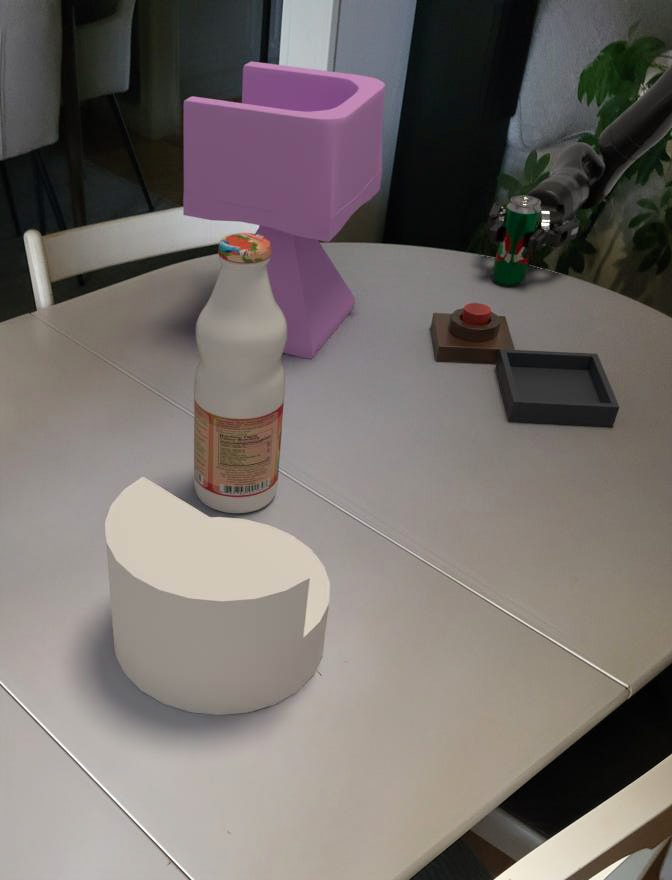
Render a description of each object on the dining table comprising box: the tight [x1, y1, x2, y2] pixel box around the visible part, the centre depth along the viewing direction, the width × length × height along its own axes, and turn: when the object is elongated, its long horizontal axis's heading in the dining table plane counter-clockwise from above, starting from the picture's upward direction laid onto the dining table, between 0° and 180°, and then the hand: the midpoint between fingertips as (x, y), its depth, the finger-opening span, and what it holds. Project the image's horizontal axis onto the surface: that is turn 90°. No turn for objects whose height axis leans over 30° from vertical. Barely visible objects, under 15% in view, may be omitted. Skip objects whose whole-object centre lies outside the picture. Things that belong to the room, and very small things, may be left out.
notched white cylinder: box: [104, 476, 331, 716], centre depth 88 cm, size 20×20×13 cm
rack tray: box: [494, 349, 620, 428], centre depth 124 cm, size 13×14×3 cm
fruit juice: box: [193, 232, 287, 514], centre depth 100 cm, size 9×9×28 cm
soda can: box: [491, 195, 542, 287], centre depth 146 cm, size 5×5×12 cm
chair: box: [182, 60, 386, 360], centre depth 130 cm, size 20×20×30 cm
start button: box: [462, 302, 492, 326], centre depth 132 cm, size 4×4×2 cm
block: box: [430, 307, 516, 365], centre depth 134 cm, size 10×10×4 cm
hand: (511, 241), depth 144 cm, fingers closed on soda can, 5 cm apart
